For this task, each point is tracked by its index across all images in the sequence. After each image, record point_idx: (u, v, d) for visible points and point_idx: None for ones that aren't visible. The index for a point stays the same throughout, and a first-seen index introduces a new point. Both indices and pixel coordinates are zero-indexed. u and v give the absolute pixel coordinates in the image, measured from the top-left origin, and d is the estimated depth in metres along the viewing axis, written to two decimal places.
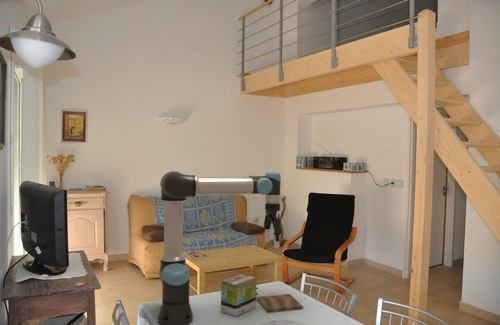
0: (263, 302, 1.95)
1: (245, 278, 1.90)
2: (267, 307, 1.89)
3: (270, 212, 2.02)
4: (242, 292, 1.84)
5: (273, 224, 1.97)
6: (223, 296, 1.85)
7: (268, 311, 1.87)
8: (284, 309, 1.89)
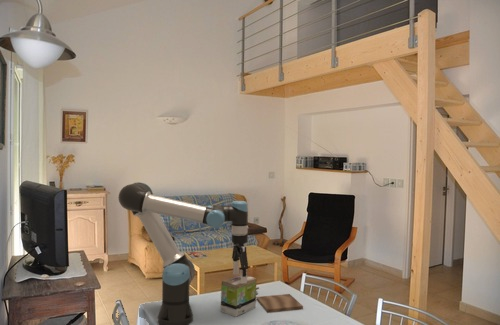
0: (263, 302, 1.95)
1: None
2: (267, 307, 1.89)
3: (237, 244, 1.89)
4: (242, 292, 1.84)
5: (240, 258, 1.84)
6: (223, 297, 1.85)
7: (268, 311, 1.87)
8: (284, 309, 1.89)
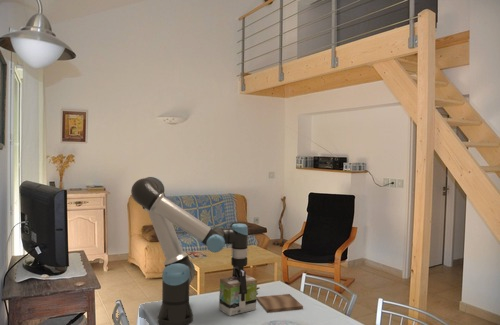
0: (263, 302, 1.95)
1: None
2: (267, 307, 1.89)
3: (237, 267, 1.89)
4: (238, 292, 1.83)
5: None
6: (221, 295, 1.87)
7: (268, 311, 1.87)
8: (284, 309, 1.89)
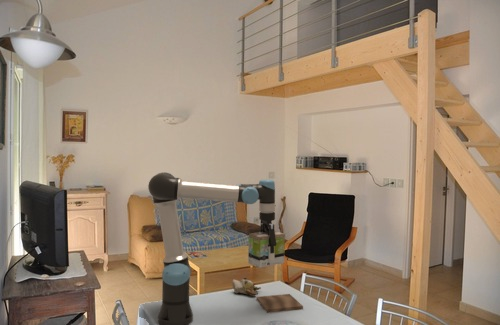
0: (263, 302, 1.95)
1: None
2: (267, 307, 1.89)
3: (265, 222, 1.93)
4: (267, 245, 1.88)
5: (268, 235, 1.89)
6: (250, 249, 1.92)
7: (268, 311, 1.87)
8: (284, 309, 1.89)
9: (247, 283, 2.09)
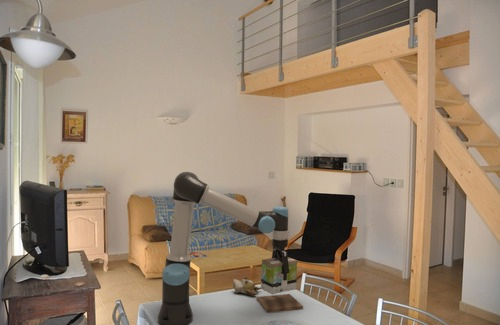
0: (263, 302, 1.95)
1: None
2: (267, 307, 1.89)
3: (278, 248, 1.96)
4: (280, 272, 1.91)
5: (281, 262, 1.92)
6: (263, 275, 1.95)
7: (268, 311, 1.87)
8: (284, 309, 1.89)
9: (247, 283, 2.09)
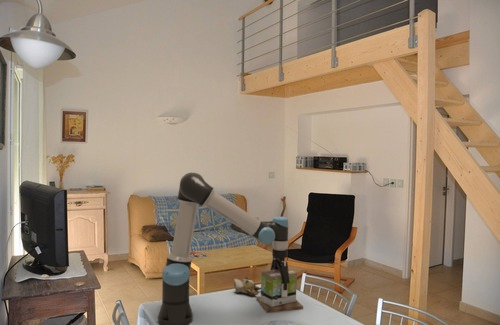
0: None
1: None
2: (267, 307, 1.89)
3: (277, 258, 1.96)
4: (280, 284, 1.91)
5: (281, 272, 1.92)
6: (262, 287, 1.95)
7: (268, 311, 1.87)
8: (284, 309, 1.89)
9: (248, 283, 2.10)
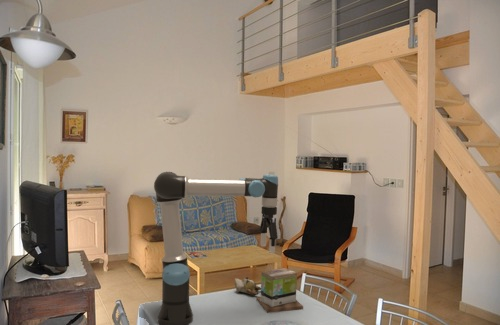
0: None
1: (285, 272, 1.96)
2: (267, 307, 1.89)
3: (266, 216, 1.96)
4: (280, 284, 1.91)
5: (269, 228, 1.92)
6: (262, 287, 1.95)
7: (268, 311, 1.87)
8: (284, 309, 1.89)
9: (248, 282, 2.10)
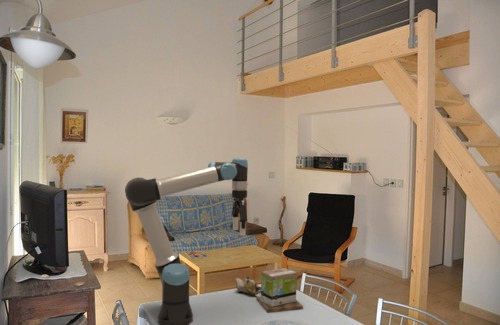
0: None
1: (285, 272, 1.96)
2: (267, 307, 1.89)
3: (237, 199, 1.97)
4: (280, 284, 1.91)
5: (239, 211, 1.93)
6: (262, 287, 1.95)
7: (268, 311, 1.87)
8: (284, 309, 1.89)
9: (249, 282, 2.10)
